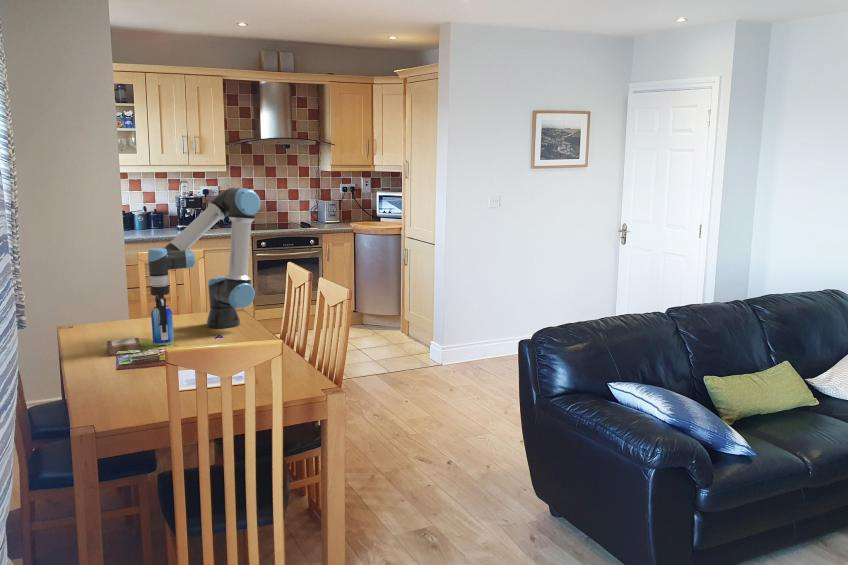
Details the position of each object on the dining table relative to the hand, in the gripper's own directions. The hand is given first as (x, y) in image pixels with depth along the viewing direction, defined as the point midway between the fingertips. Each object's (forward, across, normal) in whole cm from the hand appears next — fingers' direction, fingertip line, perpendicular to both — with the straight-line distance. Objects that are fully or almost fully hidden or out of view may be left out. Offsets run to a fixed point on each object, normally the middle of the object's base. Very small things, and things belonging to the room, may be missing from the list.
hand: (163, 337), depth 308 cm
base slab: (+3, +4, -16) cm, 17 cm away
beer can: (+3, 0, 0) cm, 3 cm away
